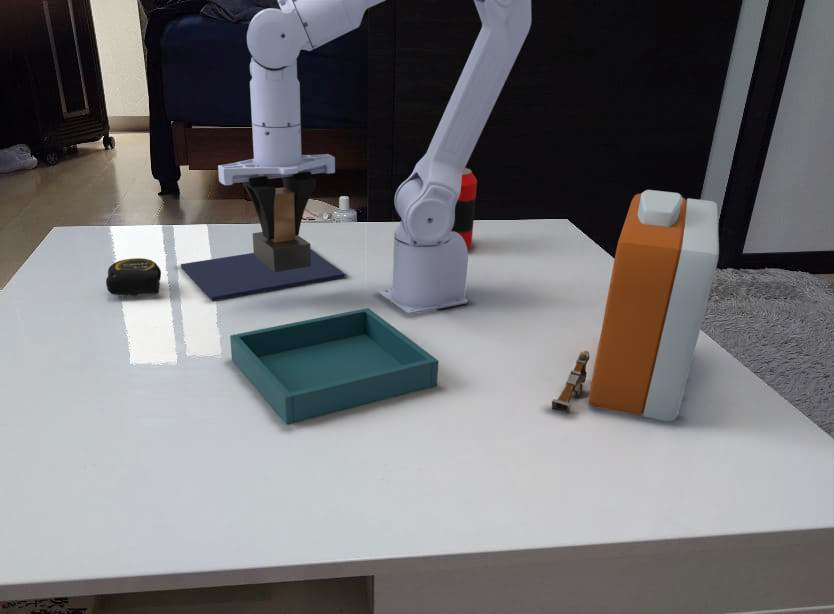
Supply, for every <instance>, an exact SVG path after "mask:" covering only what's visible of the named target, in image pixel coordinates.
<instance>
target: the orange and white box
mask: <svg viewBox="0 0 834 614" xmlns="http://www.w3.org/2000/svg"><path fill="white" fill-rule="evenodd" d="M719 238H720V237H719V208H718V203H716V202H715V201H713V200H707V199H706V200H705V199H696V198H687V199H686V198H685V197H683V196H682V195H681V194H680V193H678V192H672V191H661V190H653V189H646V190H644V191H643V192H642V193H637V194H635V195H634V196H633V198H632V199H631V202H630V205H629V208H628V211H627V214H626V217H625V220H624V223H623V226H622V229H621V232H620V235H619V238H618V241H617V246H616V250H615V255H614V261H613V266H612V270H611V271H612V272H611V277H610V281H609V288H608V292H607V296H606V303H605V309H604V313H603V320H602V325H601V330H600V337H599V340H598V346H597V350H596V356H595V361H594V367H593V372H592V377H591V381H590V388H589V394H588V401H589V405H591V406H592V407H595V408H599V409H604V410H610V411H614V412H620V413H625V414H630V415H634V416H635V415H636V416H641V415H642V417H645V418H650V419H656V420H660V421H664V422H665V421H666V422H670V421H675V420H676V418H677V417H678V416H679V412H680V408H681V405H682V401H683V397H684V393H685V389H686V386H687V382H688V378H689V374H690V370H691V366H692V363H693V358H694V354H695V352H696V347H697V343H698V339H699V335H700V331H701V328H702V323H703V320H704V316H705V312H706V308H707V306H708V302H709V301H708V300H709V297H710V293H711V290H712V286H713V282H714V279H715V275H716V270H717V266H718V262H719V258H720V257H719V255H720V241H719V240H720V239H719Z"/></svg>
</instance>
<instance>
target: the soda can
mask: <svg viewBox="0 0 834 614" xmlns="http://www.w3.org/2000/svg"><path fill="white" fill-rule="evenodd" d="M477 186H478V179H477V178H476V176H475V174H473V171H472V170H471V169H470V168H467V167H465V168H464V170H463V173H462V180H461V191H460V196H459V198H458V200H457V202H456V205H455V221H454V225H453V228H452V230H451V231H450V232H457V233H458V234H460V235H461V236H462V238H463V239H464V241H465V243H466V246H467V251H469V250H470V249H471V248H472V242H473V230H474V220H475V209H476V198H477V188H478V187H477Z"/></svg>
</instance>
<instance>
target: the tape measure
mask: <svg viewBox="0 0 834 614" xmlns="http://www.w3.org/2000/svg"><path fill="white" fill-rule="evenodd" d="M161 277H162V270H161V268H160V267H159V266H158V264H157V262H155V261H153V259H149V258H142V257H137V258H135V257H134V258H125V259H120V260H118V261H115V262H113V263H112V264H111V265H110V266H109V267H108V269H107V277H106V280H105V284H106V285H105V286H106V290H107V291H108V292H109V293H110V294H112V295H114V296H115V295H116V296H118V295H119V296H131V297H136V296H139V295H149V294H151V295H153V294H154V295H155V294H159V293H160V285H161Z"/></svg>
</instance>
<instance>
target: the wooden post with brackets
mask: <svg viewBox="0 0 834 614" xmlns="http://www.w3.org/2000/svg"><path fill="white" fill-rule="evenodd" d="M589 361H590V352H589V351H588V350H583V351H580V352H579V355H578V358H577V359H576V361H575V366H574V368H573V369H571V371H570V373H569V376H568V378H567V380H566V381H565V386H564V389H563V391H562V392H561V394H560V395H559V396H558V397H557V399H556V398H553V399H552V400H551V409H552V410H553V409H559V410H563V411H565V412H568V413H570V412H571V403H570V401H571V398H575V397H579V396H580V395H579V394H580V391H582V390H583V384H585V382H586V381H587V374H588V373H587V372H588V371H587V364H588V363H589Z"/></svg>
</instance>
